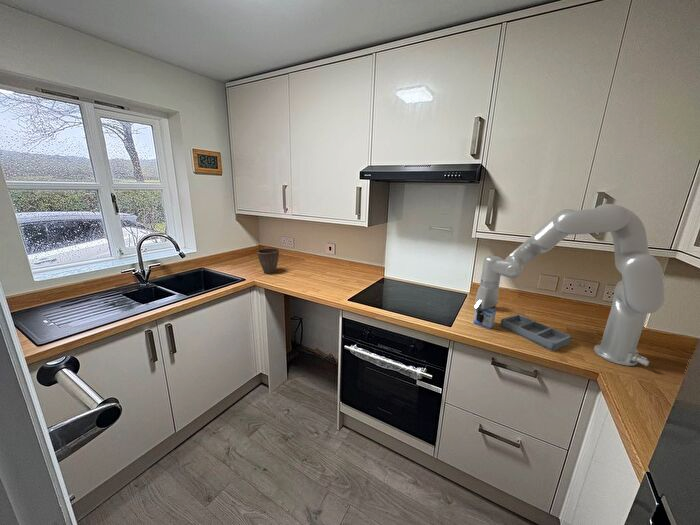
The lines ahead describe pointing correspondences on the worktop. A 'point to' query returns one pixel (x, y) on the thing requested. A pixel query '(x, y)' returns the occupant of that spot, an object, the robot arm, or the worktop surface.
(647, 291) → the robot arm
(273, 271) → the plant pot
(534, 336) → the organizer tray
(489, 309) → the medicine box
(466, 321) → the worktop surface
